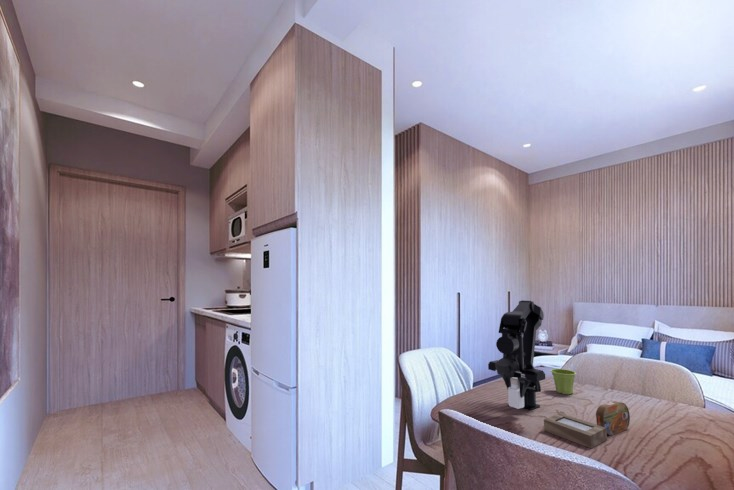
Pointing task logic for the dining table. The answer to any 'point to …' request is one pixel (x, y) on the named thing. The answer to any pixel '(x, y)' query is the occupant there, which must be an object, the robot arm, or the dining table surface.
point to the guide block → (575, 431)
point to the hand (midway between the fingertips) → (516, 395)
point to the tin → (613, 417)
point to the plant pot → (563, 380)
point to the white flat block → (575, 424)
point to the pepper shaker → (515, 394)
